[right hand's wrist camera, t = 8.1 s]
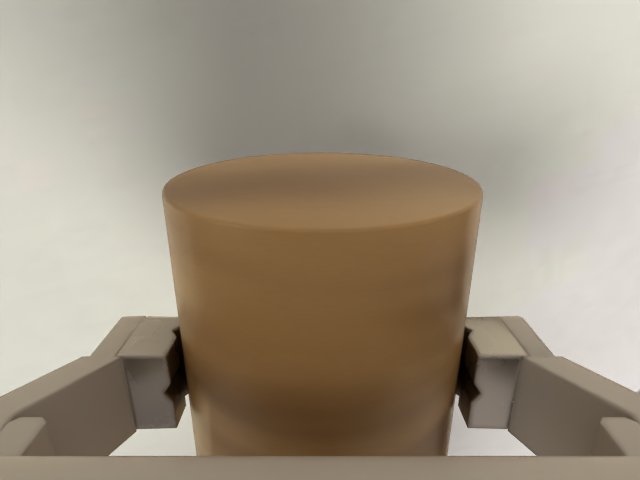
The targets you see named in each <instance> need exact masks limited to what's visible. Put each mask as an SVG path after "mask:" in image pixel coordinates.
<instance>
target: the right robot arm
mask: <svg viewBox="0 0 640 480" xmlns="http://www.w3.org/2000/svg"><path fill="white" fill-rule="evenodd" d="M187 394H188V385H187V378H186V370H185V363H184V355H183V348H182V340H181V333H180V325H179V318H178V317H152V316H148V317H146V316H126V317H122V318H121V319H120V320H119V321H118V323H117V324H116V325H115V326H114V327H113V329H112V330H111V331H110V332H109V334H108V335H107V336H106V337H105V339H104V340H103V341H102V342H101V343H100V345H99V346H98V347H97V348H96V350H95V351H94V352H93V353H92V355H91V356H90V357H81V358H79V359H77V360H75V361H73V362H71V363H69V364H67V365H65V366H63V367H61V368H58V369H56V370H54V371H52V372H50V373H48V374H46V375H44V376H42V377H40V378H38V379H36V380H34V381H32V382H30V383H28V384H26V385H24V386H22V387H19V388H17V389H15V390H13V391H11V392H9V393H7V394H5V395H3V396H1V397H0V480H640V394H638V393H636V392H634V391H632V390H630V389H628V388H626V387H624V386H622V385H620V384H617V383H615V382H613V381H611V380H609V379H607V378H605V377H603V376H601V375H599V374H597V373H595V372H593V371H591V370H589V369H587V368H584V367H582V366H580V365H578V364H576V363H574V362H572V361H570V360H568V359H566V358H564V357H555V356H554V355H553V354H552V352H551V351H550V350H549V349H548V348H547V346H546V345H545V344H544V343H543V342H542V340H541V339H540V338H539V337H538V336H537V334H536V333H535V332H534V331H533V330H532V328H531V327H530V326H529V325H528V324H527V322H526V321H525V320H524V319H523V318H522V317H519V316H503V317H466V322H465V329H464V337H463V344H462V351H461V358H460V366H459V373H458V380H457V388H456V394H457V395H459V403H458V406H459V408H460V411H461V413H462V415H463V418H464V420H465V422H466V425H467V427H468V428H490V429H508V431H509V432H510V433H511V434H512V435H513V436H514V437H516V438H517V439H518V440H519V441H520V442H521V443H523V444H524V445H525V446H526V447H527V448H528V449H530V450H531V451H532V452H533V453H534V454H535V455H537V456H108V455H109V454H111V453H112V452H113V451H114V450H115V449H116V448H118V447H119V446H120V445H121V444H122V443H123V442H124V441H126V440H127V439H128V438H129V437H130V436H131V435H133V434H134V433H135V432H136V429H154V428H177V426H178V423H179V421H180V419H181V416H182V414H183V411H184V409H185V406H186V402H185V396H186V395H187Z"/></svg>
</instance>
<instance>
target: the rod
mask: <svg viewBox="0 0 640 480" xmlns="http://www.w3.org/2000/svg"><path fill="white" fill-rule="evenodd" d="M162 197H163V205H164V212H165V220H166V227H167V235H168V242H169V250H170V257H171V265H172V272H173V280H174V288H175V295H176V303H177V310H178V318H179V325H180V333H181V340H182V348H183V355H184V363H185V370H186V378H187V385H188V393H189V400H190V408H191V416H192V423H193V431H194V438H195V446H196V453H197V456H447V453H448V446H449V438H450V431H451V424H452V417H453V409H454V402H455V395H456V388H457V380H458V373H459V366H460V358H461V351H462V344H463V337H464V329H465V322H466V315H467V308H468V300H469V293H470V286H471V279H472V271H473V264H474V257H475V250H476V242H477V235H478V228H479V221H480V213H481V206H482V199H483V191H482V189H481V187H480V185H479V184H478V183H477V182H476V181H475V180H474V179H472V178H470V177H469V176H467V175H465V174H462V173H460V172H458V171H455V170H453V169H450V168H447V167H443V166H439V165H436V164H432V163H427V162H422V161H417V160H411V159H405V158H398V157H389V156H380V155H368V154H352V153H291V154H275V155H263V156H254V157H246V158H239V159H232V160H227V161H221V162H217V163H212V164H208V165H204V166H201V167H197V168H194V169H191V170H189V171H186V172H184V173H182V174H179V175H177V176H176V177H174V178H172V179H171V180H170V181H169V182H168V183H166V185H165V187H164V188H163V191H162Z"/></svg>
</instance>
